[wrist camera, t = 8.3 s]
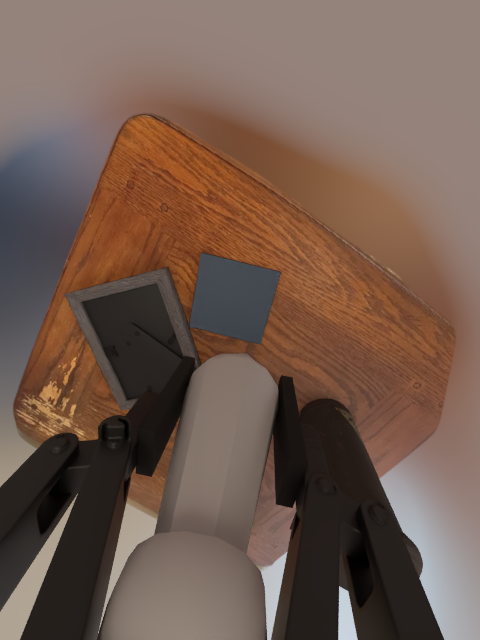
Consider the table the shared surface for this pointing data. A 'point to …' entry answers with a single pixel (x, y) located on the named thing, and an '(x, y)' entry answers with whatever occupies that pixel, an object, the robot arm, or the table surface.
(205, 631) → the salt shaker
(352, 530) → the robot arm
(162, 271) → the picture frame
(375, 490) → the container
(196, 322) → the mat
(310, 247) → the table surface
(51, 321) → the table surface
